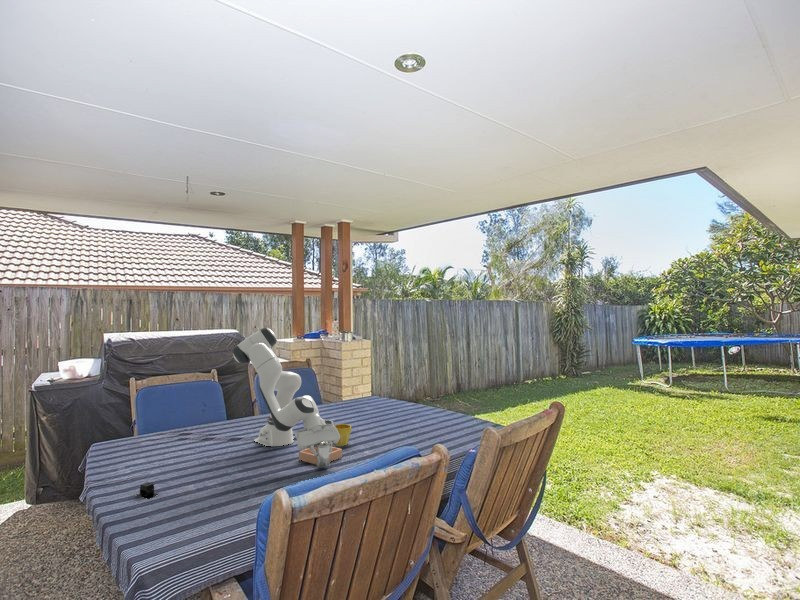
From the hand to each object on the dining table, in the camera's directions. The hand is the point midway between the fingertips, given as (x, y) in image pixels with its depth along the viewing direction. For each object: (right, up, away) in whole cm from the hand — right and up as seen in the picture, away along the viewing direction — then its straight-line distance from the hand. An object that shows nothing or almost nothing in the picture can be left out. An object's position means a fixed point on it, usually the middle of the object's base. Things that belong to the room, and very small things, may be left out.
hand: (323, 453), depth 199 cm
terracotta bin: (-4, -8, +15) cm, 17 cm away
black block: (-64, -7, -28) cm, 70 cm away
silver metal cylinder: (0, -5, 0) cm, 5 cm away
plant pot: (+3, -9, +38) cm, 39 cm away
